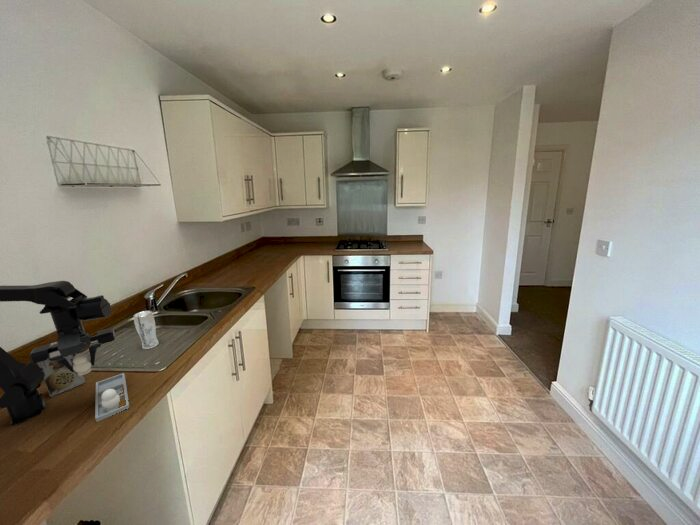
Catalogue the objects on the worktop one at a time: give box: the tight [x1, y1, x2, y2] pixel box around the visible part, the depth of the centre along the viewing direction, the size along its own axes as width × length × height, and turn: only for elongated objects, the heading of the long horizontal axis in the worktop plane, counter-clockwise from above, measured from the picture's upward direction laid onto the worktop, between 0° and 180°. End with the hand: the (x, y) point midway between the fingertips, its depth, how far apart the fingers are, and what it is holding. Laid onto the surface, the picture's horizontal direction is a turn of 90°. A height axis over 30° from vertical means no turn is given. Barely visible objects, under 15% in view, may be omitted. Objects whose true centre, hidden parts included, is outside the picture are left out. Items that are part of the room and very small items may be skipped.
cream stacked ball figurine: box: [72, 352, 92, 376], centre depth 90 cm, size 4×4×6 cm
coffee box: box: [37, 340, 86, 398], centre depth 99 cm, size 9×6×16 cm
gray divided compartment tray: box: [94, 372, 130, 423], centre depth 94 cm, size 8×22×2 cm, turn 40°
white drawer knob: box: [101, 389, 120, 412], centre depth 88 cm, size 4×4×6 cm
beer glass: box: [133, 310, 160, 350], centre depth 124 cm, size 7×7×15 cm
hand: (83, 368), depth 91 cm, fingers closed on cream stacked ball figurine, 4 cm apart
